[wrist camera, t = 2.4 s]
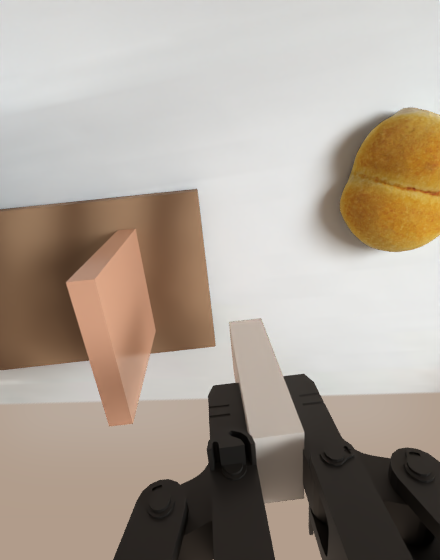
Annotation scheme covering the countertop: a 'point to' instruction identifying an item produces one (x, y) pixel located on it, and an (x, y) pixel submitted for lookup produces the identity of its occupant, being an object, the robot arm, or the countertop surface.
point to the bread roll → (396, 183)
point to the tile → (115, 322)
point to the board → (78, 250)
